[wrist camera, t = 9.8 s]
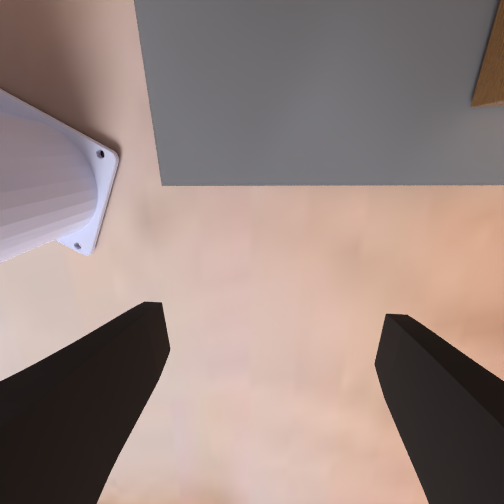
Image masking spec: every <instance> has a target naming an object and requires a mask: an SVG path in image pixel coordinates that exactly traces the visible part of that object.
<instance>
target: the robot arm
mask: <svg viewBox="0 0 504 504" xmlns="http://www.w3.org/2000/svg"><path fill="white" fill-rule="evenodd" d="M101 150H102V151H103V152H104V158H103V157H102V156H101V154H100V152H101ZM118 163H119V157H118V155H117V153H116V152H115V151H114V150H112V149H110V148H108V147H106V146H104V145H103V144H101V143H99V142H97V141H95V140H93V139H92V138H90V137H88V136H86V135H84V134H82V133H81V132H79V131H77V130H75V129H73V128H72V127H70V126H68V125H66V124H64V123H62V122H61V121H59V120H57V119H55V118H53V117H51V116H50V115H48V114H46V113H44V112H42V111H40V110H39V109H37V108H35V107H33V106H31V105H29V104H28V103H26V102H24V101H22V100H20V99H18V98H17V97H15V96H13V95H11V94H9V93H7V92H6V91H4V90H2V89H0V263H2V262H4V261H6V260H9V259H11V258H14V257H16V256H18V255H21V254H23V253H26V252H28V251H30V250H33V249H35V248H37V247H40V246H42V245H45V244H47V243H49V242H52V241H54V240H55V241H57V242H59V243H61V244H63V245H65V246H67V247H69V248H71V249H73V250H75V251H77V252H79V253H81V254H83V255H89V254H91V253H93V252H94V249H95V245H96V242H97V238H98V235H99V231H100V227H101V224H102V220H103V217H104V213H105V210H106V206H107V202H108V199H109V195H110V192H111V188H112V185H113V181H114V177H115V174H116V170H117V167H118ZM78 243H79V244H80V245H81V247H80V246H79V244H78ZM169 352H170V344H169V339H168V334H167V328H166V323H165V317H164V312H163V306H162V303H161V302H143V303H141V304H139V305H137V306H135V307H134V308H132V309H130V310H128V311H126V312H125V313H123V314H121V315H120V316H118V317H116V318H115V319H113V320H111V321H110V322H108V323H106V324H104V325H103V326H101V327H99V328H98V329H96V330H94V331H93V332H91V333H89V334H88V335H86V336H84V337H82V338H81V339H79V340H77V341H75V342H74V343H72V344H70V345H68V346H66V347H65V348H63V349H61V350H59V351H57V352H56V353H54V354H52V355H50V356H48V357H47V358H45V359H43V360H41V361H39V362H38V363H36V364H34V365H32V366H30V367H28V368H26V369H24V370H22V371H20V372H18V373H16V374H14V375H12V376H10V377H8V378H6V379H4V380H2V381H0V504H97V501H98V499H99V497H100V495H101V492H102V490H103V488H104V485H105V483H106V481H107V479H108V476H109V474H110V472H111V470H112V468H113V466H114V464H115V462H116V460H117V458H118V456H119V454H120V452H121V450H122V448H123V446H124V444H125V442H126V441H127V439H128V437H129V435H130V433H131V431H132V429H133V428H134V426H135V424H136V422H137V420H138V418H139V416H140V414H141V413H142V411H143V409H144V407H145V405H146V403H147V401H148V399H149V398H150V396H151V394H152V392H153V390H154V388H155V386H156V384H157V382H158V380H159V378H160V376H161V373H162V371H163V368H164V366H165V363H166V360H167V358H168V355H169ZM375 367H376V371H377V375H378V378H379V382H380V385H381V388H382V392H383V395H384V398H385V400H386V403H387V405H388V408H389V410H390V412H391V415H392V417H393V420H394V422H395V424H396V427H397V429H398V431H399V434H400V436H401V438H402V441H403V443H404V445H405V448H406V450H407V452H408V455H409V457H410V459H411V462H412V464H413V466H414V469H415V471H416V473H417V476H418V478H419V480H420V483H421V485H422V487H423V490H424V492H425V495H426V497H427V500H428V503H429V504H504V381H503V380H501V379H500V378H498V377H497V376H495V375H494V374H492V373H491V372H489V371H488V370H486V369H485V368H483V367H482V366H481V365H479V364H478V363H476V362H475V361H473V360H472V359H470V358H469V357H468V356H466V355H465V354H463V353H462V352H460V351H459V350H458V349H456V348H455V347H453V346H452V345H451V344H449V343H448V342H446V341H445V340H444V339H442V338H441V337H439V336H438V335H436V334H435V333H434V332H432V331H431V330H429V329H428V328H426V327H425V326H424V325H422V324H421V323H419V322H418V321H416V320H415V319H413V318H412V317H410V316H408V315H402V314H386V316H385V320H384V325H383V329H382V333H381V338H380V342H379V347H378V351H377V355H376V360H375Z"/></svg>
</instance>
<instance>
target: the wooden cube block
mask: <svg viewBox="0 0 504 504" xmlns="http://www.w3.org/2000/svg"><path fill="white" fill-rule="evenodd" d="M494 106H504V0H500V4H499V7H498V11H497V14H496V18H495V21H494V25H493V29H492V32H491V36H490V39H489V43H488V46H487V50H486V54H485V57H484V61H483V64H482V68H481V71H480V75H479V79H478V82H477V86H476V89H475V93H474V97H473V100H472V104H471V107H494Z"/></svg>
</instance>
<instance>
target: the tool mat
mask: <svg viewBox="0 0 504 504" xmlns="http://www.w3.org/2000/svg"><path fill="white" fill-rule="evenodd" d="M134 4H135V11H136V17H137V24H138V30H139V37H140V44H141V50H142V57H143V63H144V70H145V77H146V83H147V90H148V96H149V103H150V110H151V116H152V123H153V129H154V136H155V143H156V149H157V156H158V163H159V169H160V176H161V182H162V186H265V185H504V106H494V107H471V104H472V100H473V97H474V93H475V89H476V86H477V82H478V79H479V75H480V71H481V68H482V64H483V61H484V57H485V54H486V50H487V46H488V43H489V39H490V36H491V32H492V29H493V25H494V21H495V18H496V14H497V11H498V7H499V4H500V0H134Z"/></svg>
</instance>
